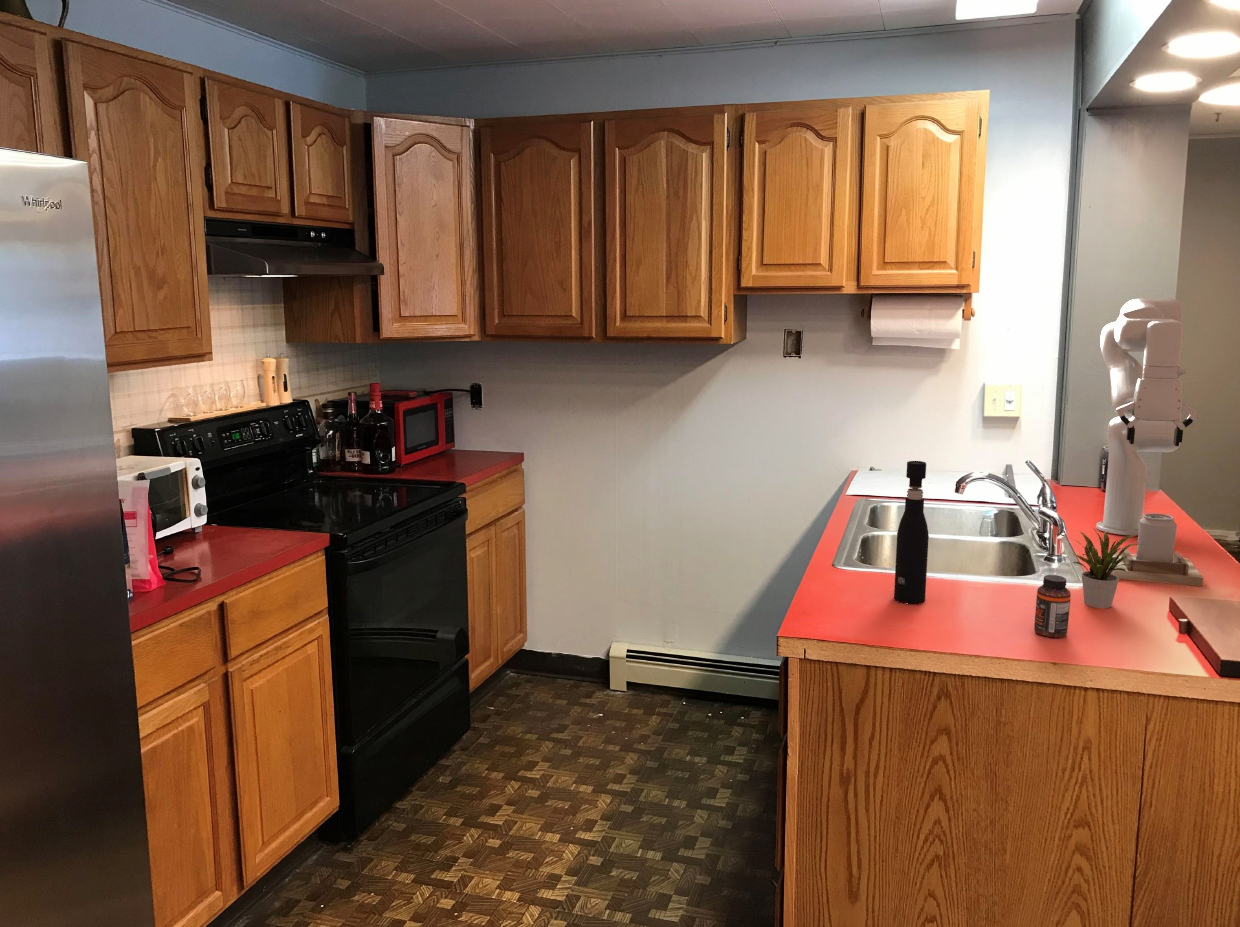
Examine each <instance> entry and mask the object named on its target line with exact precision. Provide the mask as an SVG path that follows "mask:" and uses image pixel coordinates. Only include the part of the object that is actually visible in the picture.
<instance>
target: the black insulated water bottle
mask: <svg viewBox="0 0 1240 927" xmlns="http://www.w3.org/2000/svg"><path fill="white" fill-rule="evenodd" d="M905 476H906V478H907V479H909V481H908V482H909V484H908V487H909V488H908V489H907V491H906V493H907V494H906V496H907V497H905V498H904V500H905V503H904V512H903V513H902V516H901V519H900V522H899V524H898V529H897V533H896V549H895V572H894V574H895V575H894V590H893V591H894V592H893V599H895V602H897V601H899V602H898V603H900V602H902V603H901V604H904V603H908V604H907V605H913V604H914V605H920V604H921V603H922V604H924V603H925V601H926V591H927V590H926V588H927V587H926V586H927V575H928V574H927V572H928V570H927V569H928V556H929V554H928V553H929V529H928V523H927V519H926V516H925V512H924V510H925V509H924V508H925V506H924V505H925V498H923V497H924V495H923V494H924V490H923V489H922V487H923V486H922V484H923V480H924V479H926V476H927V462H925V461H921V460H909V461H907V462H906V475H905ZM922 604H921V605H922Z"/></svg>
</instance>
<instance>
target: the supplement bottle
mask: <svg viewBox="0 0 1240 927" xmlns="http://www.w3.org/2000/svg"><path fill="white" fill-rule="evenodd" d="M1042 583H1043V584H1041V585H1040V586H1039V587H1038V588H1037V592H1036V601H1035V602H1036V603H1035V612H1034V613H1035V614H1034V624H1033V626H1034V627H1033V628H1034V632H1035V633H1036V632H1037V634H1038V635H1040V636H1042V635H1043V636H1042V637H1045V636H1047V637H1046V638H1052V637H1054V638H1053V639H1058V638H1057V637H1061V638H1064V637H1066V636H1067V634H1068V630H1069V619H1070V617H1069V616H1070V606H1071V599H1072V598H1071V591H1070V590H1069V589H1068V588H1067V587H1066V586H1067V578H1066V577H1064V576H1062V575H1058V574H1046V575H1044V576H1043V581H1042Z"/></svg>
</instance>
